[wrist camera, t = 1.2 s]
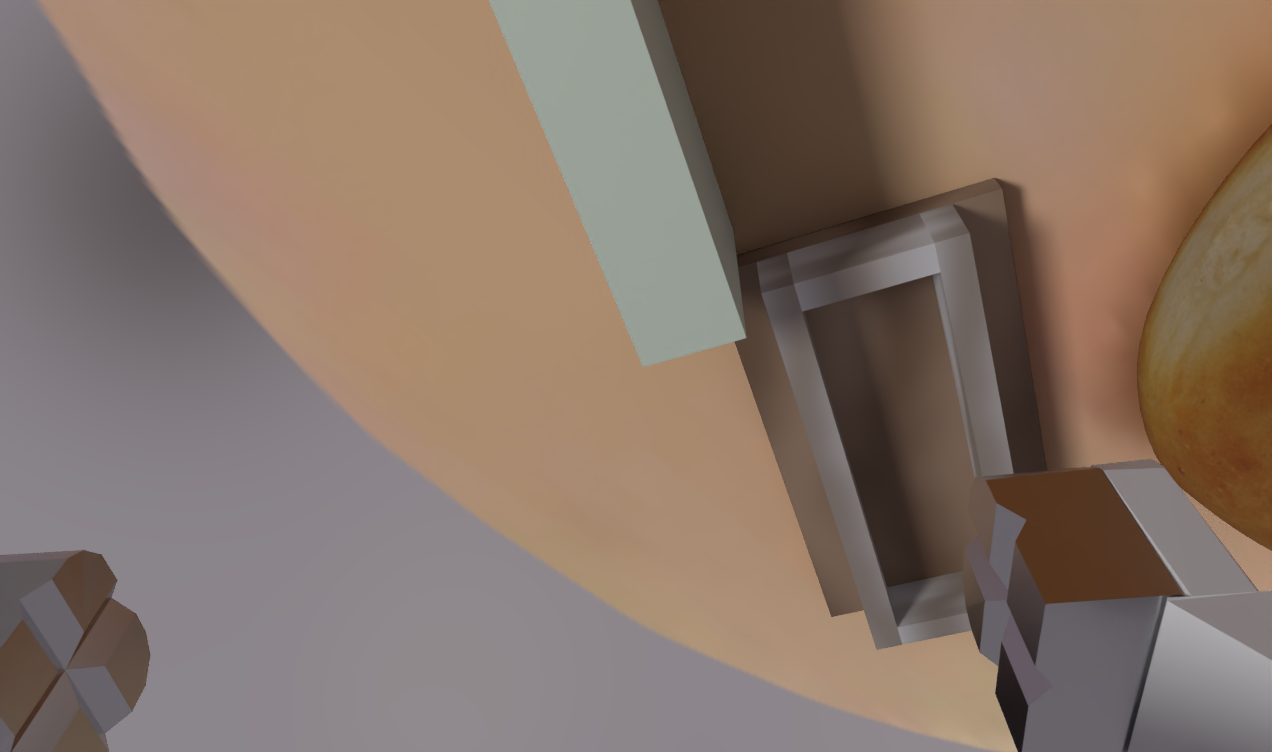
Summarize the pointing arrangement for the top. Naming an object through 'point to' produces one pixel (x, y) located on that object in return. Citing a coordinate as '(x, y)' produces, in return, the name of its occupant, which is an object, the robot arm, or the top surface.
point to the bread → (1217, 353)
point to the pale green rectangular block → (632, 166)
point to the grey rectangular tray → (893, 397)
